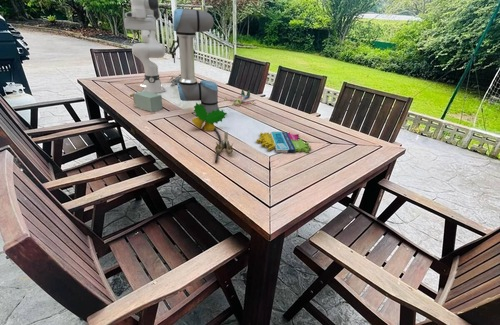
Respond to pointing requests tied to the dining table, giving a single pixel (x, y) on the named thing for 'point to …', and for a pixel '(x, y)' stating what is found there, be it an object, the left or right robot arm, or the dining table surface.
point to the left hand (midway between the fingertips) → (142, 37)
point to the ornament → (207, 117)
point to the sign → (283, 142)
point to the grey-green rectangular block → (148, 101)
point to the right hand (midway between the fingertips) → (183, 62)
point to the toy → (241, 99)
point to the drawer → (133, 97)
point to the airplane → (175, 80)
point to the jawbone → (224, 145)
